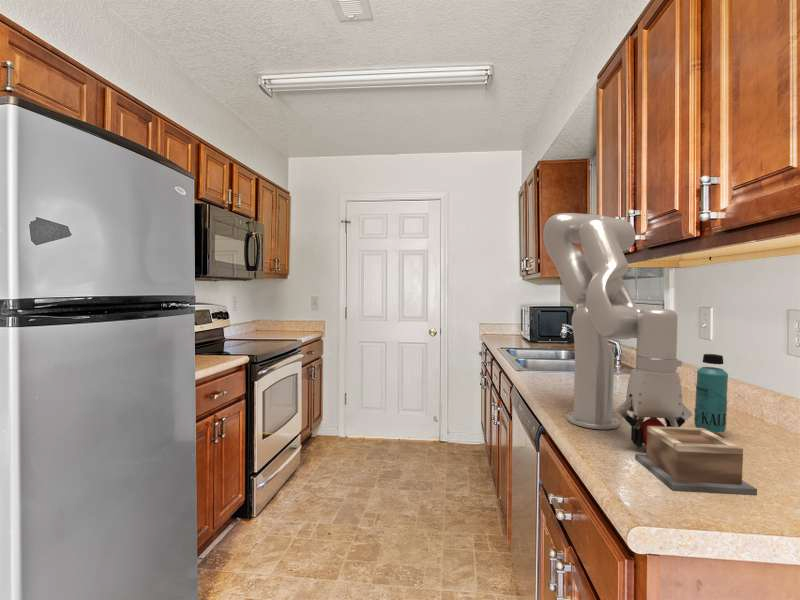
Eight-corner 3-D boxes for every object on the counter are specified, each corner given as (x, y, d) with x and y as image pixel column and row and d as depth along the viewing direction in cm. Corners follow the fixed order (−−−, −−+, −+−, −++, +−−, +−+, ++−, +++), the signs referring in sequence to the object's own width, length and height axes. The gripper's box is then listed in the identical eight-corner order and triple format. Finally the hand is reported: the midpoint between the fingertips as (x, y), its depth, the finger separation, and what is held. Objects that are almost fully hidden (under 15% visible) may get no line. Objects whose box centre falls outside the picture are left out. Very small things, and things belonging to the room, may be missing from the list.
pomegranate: (657, 446, 96) (658, 411, 96) (674, 456, 90) (675, 419, 90) (632, 445, 96) (633, 411, 95) (647, 456, 90) (649, 418, 90)
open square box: (635, 458, 88) (636, 423, 88) (705, 461, 87) (706, 426, 87) (672, 490, 74) (674, 448, 74) (756, 494, 73) (758, 452, 73)
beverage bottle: (702, 428, 109) (705, 351, 108) (732, 437, 103) (735, 355, 102) (687, 432, 106) (690, 353, 105) (717, 440, 100) (720, 357, 99)
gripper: (686, 363, 95) (683, 441, 96) (607, 360, 97) (605, 438, 97) (708, 369, 88) (704, 454, 88) (622, 366, 89) (619, 450, 90)
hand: (652, 445), depth 93 cm, fingers closed on pomegranate, 5 cm apart
